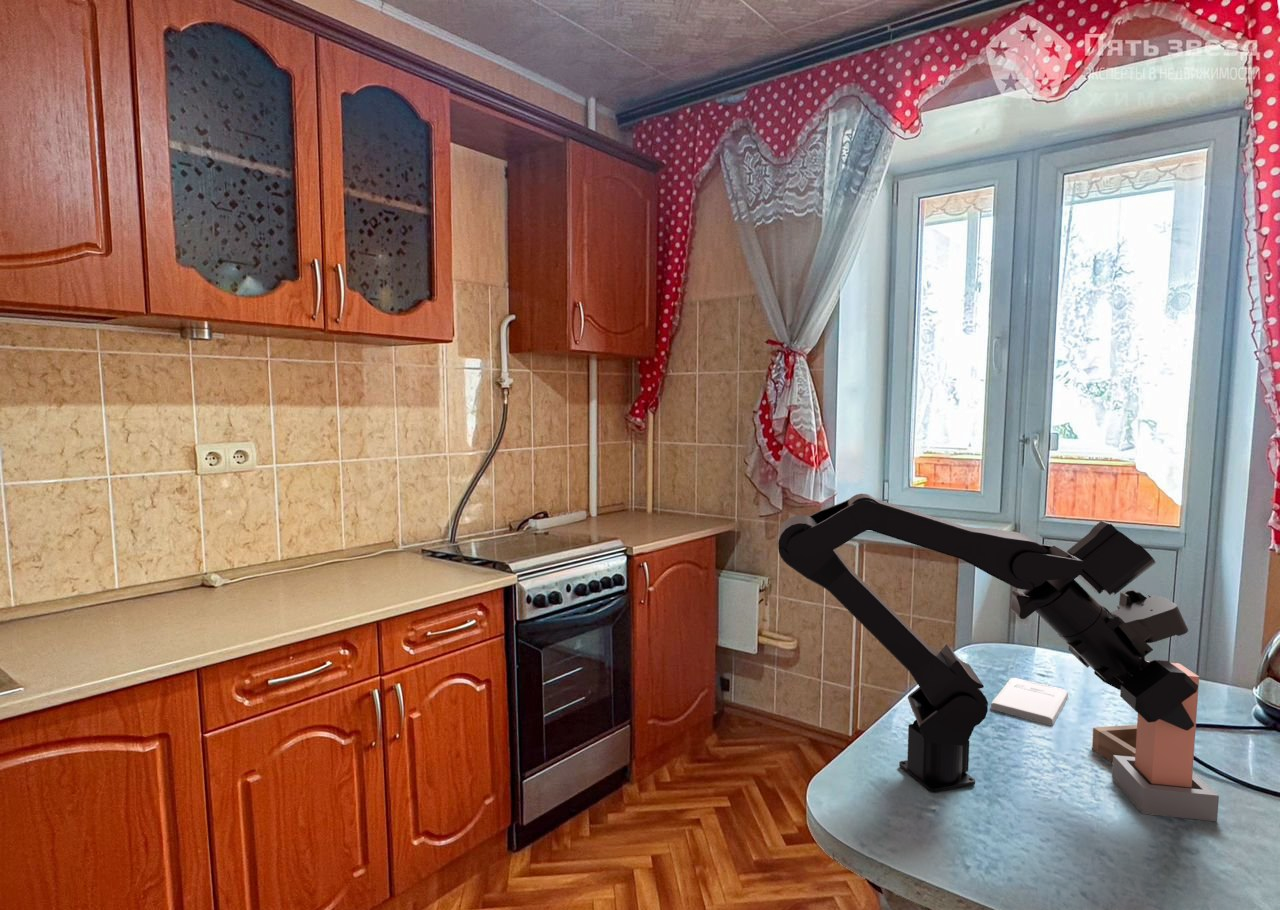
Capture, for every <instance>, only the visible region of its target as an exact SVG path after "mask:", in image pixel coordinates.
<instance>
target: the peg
mask: <svg viewBox="0 0 1280 910" xmlns="http://www.w3.org/2000/svg"><path fill="white" fill-rule="evenodd" d="M1146 661H1147V662H1150V661H1149V660H1146ZM1170 663H1171V664H1173V665H1174V666H1176V667H1177V668H1178V669H1180V670H1181V671H1183V672H1184V673H1185V674H1187V675H1188V676H1189V677H1190V678H1191V679H1192V680H1193V681H1194V682H1195V683H1196V684H1197V685H1198V689H1197V692H1196V693H1194V694H1193V695H1191V696H1190V697H1189V698H1187V699H1186V700H1185V701H1183V702H1182V704H1183V706H1184V708H1185V709H1186V711H1187V713H1188V714H1189V716H1190V718H1191V720H1192V721H1193V723H1194V726H1193V727H1192V728H1191V729H1189V730H1187V731H1186V730H1184V729H1181V728H1179V727H1177V726H1174V725H1172V724H1170V723H1167V722H1165V721H1163V720H1160V719H1158V720H1157V721H1156V722H1147V721H1146V720H1145V719H1144V718H1143V717H1141V716H1140V715H1139V714H1138V713H1137V722H1136V725H1137V735H1136V751H1135V766H1136V767H1137V768H1138V770H1139V771H1140V772H1141V773H1142V774H1143V775H1144V776H1145V777H1146V778H1147V779H1148V780H1149V781H1150V782H1151V783H1152V784H1161V785H1171V786H1181V787H1191V788H1192V774H1193V772H1194V771H1193V769H1194V758H1195V741H1196V730H1197V728H1196V727H1197V715H1198V714H1197V713H1198V701H1199V699H1198V698H1199V685H1200V676H1199V675H1198V674H1196V673H1195V672H1192V671H1191V670H1190V669H1188V668H1187V667H1185V666H1184V665H1183V664H1181V663H1178V662H1177V663H1176V662H1170ZM1141 670H1142V669H1141Z"/></svg>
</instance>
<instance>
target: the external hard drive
mask: <svg viewBox="0 0 1280 910" xmlns="http://www.w3.org/2000/svg"><path fill="white" fill-rule="evenodd" d="M1068 698H1069V691H1068V690H1067V689H1064V688H1060V687H1055V686H1050V685H1047V684H1043V683H1039V682H1033V681H1030V680H1026V679H1021V678H1018V677H1017V678H1016V677H1011V678H1009V680H1008V681H1007V683H1005V684H1004V686H1003V688H1002V689H1001V690H1000V691H999V692H998V694H997V695H996V697H995V698H994V699H993V700H992V702H990V710H993V711H997V712H1000V713H1003V712H1004V713H1003V714H1008V715H1012V716H1014V717H1019V718H1022V719H1026V720H1030V721H1034V722H1038V723H1041V724H1045V725H1049V726H1054V724H1055V722H1056V720H1057V718H1058V716H1059V714H1060V712H1061V711H1062V709H1063V707H1064V706H1065V703H1066V701H1067V700H1068Z"/></svg>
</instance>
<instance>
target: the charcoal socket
mask: <svg viewBox="0 0 1280 910" xmlns="http://www.w3.org/2000/svg"><path fill="white" fill-rule="evenodd" d="M1111 771H1112V772H1111V779H1112V780H1113V782H1115V784H1116V785H1117V786H1118V788H1119V789H1121V791H1122V792H1123V793H1124V794H1125V795H1126V796H1127V797H1128V799H1129V800H1130V802H1131V803H1132V804H1133V805H1134V806H1135V807H1136V808H1137V810H1138V811H1139V812H1140V813H1141V814H1143V815H1151V816H1154V815H1155V816H1162V817H1171V818H1179V819H1180V818H1182V819H1190V820H1191V819H1192V820H1201V821H1208V822H1209V821H1210V822H1218V814H1219V802H1220V801H1219V798H1220V795H1219V794H1218V793H1217V792H1215V790H1213V789H1212V788H1211V787H1210V786H1209V785H1208V783H1206V782H1205V781H1203V779H1202V778H1200V777H1199V776H1198V775H1197V774H1196V773H1195V772H1194V771H1193V774H1192V788H1191V787H1181V786H1171V785H1161V784H1152V783H1151V782H1150V781H1149V780H1148V779H1147V778H1146V777H1145V776H1144V775H1143V774H1142V773H1141V772H1140V771H1139V770H1138V768H1137V767H1136V766H1135V757H1129V756H1118V755H1113V763H1112V769H1111Z"/></svg>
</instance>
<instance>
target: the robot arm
mask: <svg viewBox="0 0 1280 910" xmlns="http://www.w3.org/2000/svg"><path fill="white" fill-rule="evenodd" d="M868 531H870V532H875V533H877V534H881V535H883V536H887V537H890V538H894V539H896V540H899V541H902V542H906V543H908V544H909V543H910V544H911V545H914V546H915V545H916V546H919V547H920V548H921V547H922V548H924V549H928V550H930V551H934V552H937V553H940V554H944V555H945V556H946V555H947V556H950V557H954V558H957V559H959V560H961V561H962V560H963V561H964V562H966V563H968V564H969V565H972V566H974V567H975V568H977V569H979V570H981V571H983V572H985V573H986V574H988V575H990V576H992V577H994V578H996V579H997V580H1000V581H1002V582H1003V583H1005V584H1008V585H1009V586H1010V587H1013V588H1016V589H1018V590H1019V591H1018V590H1017V591H1016V590H1012V591H1011V596H1012V600H1011V606H1010V610H1011V611H1012V612H1013V613H1014V614H1015V615H1016V616H1017V617H1018V618H1019V619H1021V620H1026V619H1027V618H1028V617H1029V616H1030V615H1033V613H1036V614H1038V616H1039V617H1041V618H1042V619H1043V620H1044V622H1045V623H1047V625H1049V626H1050V628H1051V629H1052V630H1053V631H1054V632H1055V633H1057V635H1058V636H1059V637H1060V638H1061V639H1062V640H1063V642H1065V643H1066V644H1068V651H1069V652H1070V653H1071V654H1072V655H1073V656H1074V658H1076V659H1077V660H1078V661H1079V662H1080V663H1081V664H1082V665H1083V666H1085V668H1086V669H1088V668H1091V669H1092V670H1093V673H1094V675H1096V676H1097V678H1098V679H1100V681H1102V682H1103V683H1105V684H1108V685H1109V686H1110V687H1113V688H1115V689H1116V690H1118V691H1120V693H1119V694H1120V695H1119V696H1120V698H1121V699H1122V700H1124V702H1126V704H1127V705H1129V707H1131V708H1132V709H1133V710H1134V712H1136V713H1137V715H1138V714H1139V715H1140V716H1141V717H1143V718H1144V719H1145V720H1146V721H1147V722H1156V721H1157V720H1158V719H1160V720H1163V721H1165V722H1167V723H1170V724H1172V725H1174V726H1177V727H1179V728H1181V729H1184V730H1186V731H1187V730H1189V729H1191V728H1192V727H1193V726H1194V723H1193V721H1192V720H1191V718H1190V716H1189V714H1188V713H1187V711H1186V709H1185V708H1184V706H1183V704H1182V702H1183V701H1185V700H1186V699H1187V698H1189V697H1190V696H1191V695H1193V694H1194V693H1196V692H1197V689H1198V690H1199V687H1198V685H1197V684H1196V683H1195V682H1194V681H1193V680H1192V679H1191V678H1190V677H1189V676H1188V675H1187V674H1185V673H1184V672H1183V671H1181V670H1180V669H1178V668H1177V667H1176V666H1174V665H1173V664H1171V663H1172V662H1170V661H1169V660H1161V659H1160V660H1158V659H1153V660H1151V661H1150V662H1147V661H1148V660H1146V658H1145V657H1146V656H1147V655H1149V654H1150V653H1151V652H1152V651H1154V648H1152V647H1151V645H1149V644H1152V643H1157V642H1159V641H1162V640H1166V639H1168V638H1171V637H1174V636H1177V637H1178V636H1180V637H1181V636H1184V635H1186V634H1187V633H1188V632H1189V629H1188V627H1187V624H1186V622H1185V620H1184V617H1183V615H1182V613H1181V611H1180V609H1179V607H1178V604H1176V603H1175V602H1172V601H1171V600H1169V599H1168V598H1166V597H1163V596H1160V595H1154V594H1149V595H1147V596H1148V597H1146V596H1145V595H1143V594H1142V593H1141V592H1139V591H1138V590H1136V589H1134V588H1129V589H1125V590H1123V589H1124V588H1125V587H1126V586H1128V585H1129V584H1131V583H1132V582H1133V581H1134V580H1135V579H1137V578H1138V577H1140V576H1141V575H1142V574H1143V573H1145V572H1147V570H1148V569H1150V568H1151V567H1152V566H1154V565H1155V564H1156V561H1155V559H1154V558H1153V556H1152V555H1151V554H1150V553H1149V552H1148V551H1147V550H1146V549H1145V548H1144V547H1143V546H1142V545H1140V544H1138V543H1136V542H1134V541H1133V540H1132V539H1131V538H1129V537H1128V536H1127V535H1125V534H1124V533H1123V532H1121V531H1120V530H1118V529H1117V528H1116V527H1115V526H1114V525H1113V524H1112V523H1110V522H1107V521H1104V520H1100V521H1099V522H1098V523H1097V524H1096V525H1094V526H1093V527H1092V529H1090V530H1089V532H1088V533H1087V534H1086V535H1085V536H1083V538H1081V539H1080V540H1079V541H1078V542H1076V543H1074V545H1072V546H1071V547H1070V548H1069V549H1067V551H1066V550H1064V549H1062V548H1061V547H1059V546H1056V545H1048V544H1043V543H1042V544H1041V543H1038V542H1037V541H1035V540H1033V539H1032V538H1030V537H1028V536H1027V535H1025V534H1023V533H1021V532H1017V531H1011V530H1004V529H1003V530H1002V529H997V528H990V527H989V528H987V527H986V528H985V527H973V526H965V525H961V524H959V523H955V522H952V521H948V520H945V519H941V518H939V517H935V516H933V515H929V514H925V513H923V512H919V511H915V510H912V509H909V508H907V507H904V506H900V505H897V504H893V503H890V502H887V501H883V500H880V499H877V498H875V497H873V496H871V495H870V494H867V493H857V494H855V495H853V496H851V497H850V498H849V499H846V500H844V501H842V502H840V503H836V504H835V505H832V506H829V507H826V508H824V509H821V510H819V511H816V512H814V513H812V514H811V515H810V514H809V516H808V515H798V514H797V515H794V516H791V517H789V518H788V519H786V520H785V521H784V522H783V523H782V525H781V526H780V529H779V532H778V539H777V540H778V543H777V545H778V548H777V549H778V553H779V556H780V558H781V559H782V561H783V562H784V563H785V564H786V565H787V566H789V567H790V568H792V569H793V570H794V571H796V572H797V573H798V574H800V575H801V576H802V577H805V578H806V579H807V580H808V581H811V582H812V583H814V584H816V585H818V586H819V587H822V588H823V589H825V590H826V591H828V592H829V593H830V594H831V595H832V596H833V598H835V599H836V600H837V601H838V602H839V603H840V604H841V605H842V606H843V607H844V608H845V609H846V610H847V611H848V612H849V613H850V614H851V616H853V617H854V618H855V619H856V620H857V621H858V622H859V623H860V624H861V625H862V626H863V627H864V628H865V629H866V630H867V631H868V632H869V633H870V634H871V635H872V636H873V637H874V638H875V639H876V640H877V641H878V642H879V643H880V644H881V645H882V646H883V647H884V648H885V649H886V650H888V652H889V653H890V654H892V656H893V657H894V658H895V659H896V660H898V662H899V663H900V664H901V666H903V667H904V668H905V669H906V670H907V671H908V672H909V673H910V675H911V676H912V677H913V680H914V681H915V682H916V684H917V686H918V687H917V688H916V689H915V690H914V691H912V692H911V693H910V694H909V695H908V696H907V699H908V702H909V705H910V708H911V710H912V713H913V714H914V717H915V720H914V721H913V723H910V724H908V733H907V759H906V760H901V761H899V762H898V765H899V767H900V768H901V769H902V770H903V771H905V772H906V773H907V774H908V775H909V776H911V777H912V778H913V779H915V780H916V781H917V782H918V783H919V784H921V785H922V787H924V788H925V789H927V790H928V791H929V792H932V793H938V792H942V791H947V790H953V789H957V788H958V789H959V788H963V787H969V786H974V785H976V779H975V778H973V776H971V775H970V774H968V772H969V767H970V766H969V763H970V761H969V759H970V740H969V739H970V738H971V736H972V733H973V732H974V730H975V727H977V726H979V725H981V723H982V722H983V721H984V720H985V719H986V716H987V714H988V712H989V710H988V708H989V707H988V706H989V701H988V699H987V697H986V695H985V694H984V692H983V691H982V689H983V688H984V687H985V686H984V684H983V683H982V681H981V680H980V678H979V677H978V674H976V672H975V671H974V669H973V667H971V665H970V664H969V663H967V662H964V661H963V660H962V659H960V658H959V657H958V656H957V655H956V653H955V652H954V651H953V649H952V647H950V645H949V644H948V643H946V644H945V645H944V647H943V648H942V649H941V650H938V649H937V648H935V647H934V646H931V645H929V644H928V643H926V642H925V641H924V640H923V639H922V638H921V637H920V636H919V635H918V633H916V632H915V631H914V630H913V628H912V627H910V626H909V625H908V624H907V623H906V622H905V621H904V620H903V619H902V618H901V617H900V616H899V615H898V614H897V613H896V611H894V610H893V609H892V608H891V607H890V606H889V605H888V604H887V603H886V602H885V601H884V600H883V599H882V598H881V597H880V596H879V595H878V594H877V592H875V590H873V589H872V588H871V587H870V586H869V585H867V582H865V581H864V580H863V579H862V578H861V577H860V576H859V575H858V574H857V573H856V572H855V571H854V570H853V569H852V568H851V567H850V566H849V565H848V564H847V563H846V560H844V558H843V557H842V555H841V553H840V551H838V548H839V547H842V546H843V545H845V544H846V543H848V542H849V541H850V540H852V539H854V538H856V537H857V536H858V535H860V534H862V533H864V532H868ZM1076 578H1078V579H1080V581H1081V582H1082V583H1084V584H1085V585H1086V586H1087V587H1088V588H1090V589H1091V590H1092V591H1093V592H1095V593H1096V594H1097V595H1100V594H1101V593H1103V591H1104V592H1105V593H1106V594H1107V595H1109V596H1111V595H1114V596H1115V595H1116V594H1118V593H1119V592H1120V593H1119V601H1118V602H1119V604H1118V605H1117V606H1116V608H1117V609H1116V610H1113V611H1109V609H1107V608H1106V607H1105V606H1103V605H1101V604H1100V603H1098V601H1096V599H1095V598H1094V597H1093V596H1092V595H1091V594H1090V593H1089V592H1088V591H1086V589H1085V588H1083V587H1082V586H1081V585H1080V583H1078V582H1077V581H1076V580H1075V579H1076ZM1121 590H1122V591H1121ZM1141 669H1142V670H1141Z"/></svg>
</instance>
